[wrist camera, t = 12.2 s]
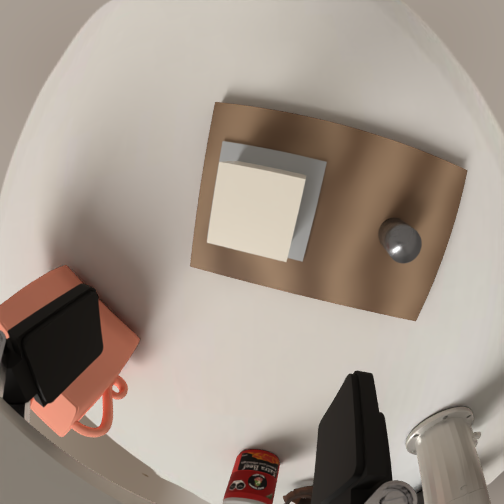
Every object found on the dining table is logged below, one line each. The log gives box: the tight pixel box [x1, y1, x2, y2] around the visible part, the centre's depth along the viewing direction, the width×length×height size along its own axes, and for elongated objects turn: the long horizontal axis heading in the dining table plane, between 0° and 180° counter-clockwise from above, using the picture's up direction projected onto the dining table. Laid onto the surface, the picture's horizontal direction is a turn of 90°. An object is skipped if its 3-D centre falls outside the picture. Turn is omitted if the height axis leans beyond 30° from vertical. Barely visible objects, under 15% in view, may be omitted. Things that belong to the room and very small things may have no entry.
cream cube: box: [207, 161, 306, 262], centre depth 22 cm, size 6×6×5 cm
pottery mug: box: [283, 486, 313, 504], centre depth 40 cm, size 12×10×8 cm
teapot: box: [0, 265, 140, 437], centre depth 30 cm, size 25×23×18 cm
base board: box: [190, 102, 467, 321], centre depth 25 cm, size 24×16×2 cm, turn 79°
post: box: [378, 217, 422, 264], centre depth 22 cm, size 3×3×4 cm
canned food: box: [223, 449, 280, 504], centre depth 35 cm, size 8×8×11 cm
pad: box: [207, 141, 327, 262], centre depth 24 cm, size 9×9×1 cm
